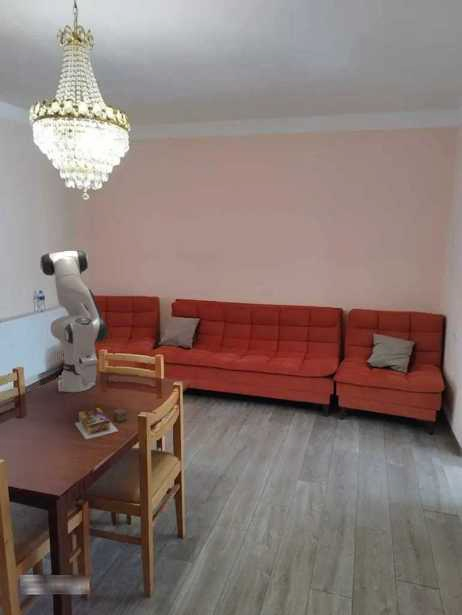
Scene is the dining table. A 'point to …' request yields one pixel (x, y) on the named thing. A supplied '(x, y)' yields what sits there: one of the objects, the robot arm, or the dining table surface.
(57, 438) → the dining table surface
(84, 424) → the candy box
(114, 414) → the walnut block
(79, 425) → the mat
